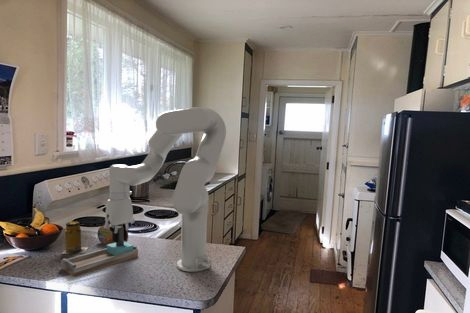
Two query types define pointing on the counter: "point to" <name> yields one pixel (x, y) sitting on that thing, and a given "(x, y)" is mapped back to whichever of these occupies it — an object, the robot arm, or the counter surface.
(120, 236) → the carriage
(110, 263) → the rail board
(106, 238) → the orange brown rounded block
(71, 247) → the condiment
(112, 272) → the counter surface
